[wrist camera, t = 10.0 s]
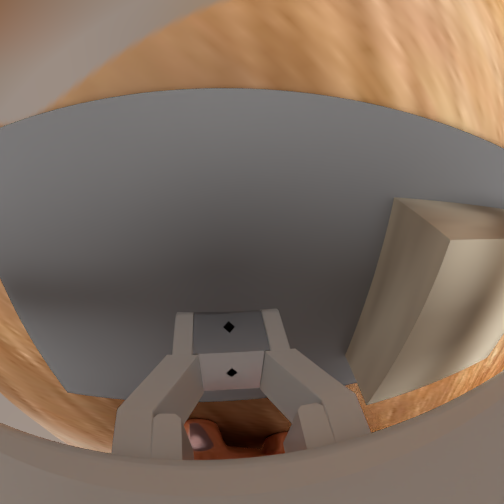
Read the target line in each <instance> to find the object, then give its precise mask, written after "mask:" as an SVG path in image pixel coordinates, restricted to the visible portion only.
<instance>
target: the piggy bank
mask: <svg viewBox="0 0 504 504" xmlns="http://www.w3.org/2000/svg"><path fill="white" fill-rule="evenodd" d="M184 427H185V430H186V433H187V435H188V438H189V440H190V443H191V445H192V448H193V452H194V460H221V459H238V458H250V457H260V456H268V455H276V454H283V453H285V450H284V445H283V442H284V440H285V438H286V436H287V434H288V432H281V433H277V434H274V435H271V436H269V437H268V438H266V439H265V441H264V445H263V448H262V449H252V448H244V447H234V446H226V444H225V443H224V440H223V438H222V436H221V433H220V431H219V428H218V426H217V424H216V423H214V422H212V421H209V420H205V419H188V420H186V422H185V424H184Z"/></svg>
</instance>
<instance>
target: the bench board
mask: <svg viewBox="0 0 504 504" xmlns="http://www.w3.org/2000/svg"><path fill="white" fill-rule="evenodd" d="M394 197H397V198H410V199H422V200H433V201H443V202H453V203H461V204H470V205H478V206H485V207H493V208H500V209H504V149H503V148H501V147H499V146H497V145H495V144H493V143H491V142H488V141H486V140H484V139H481V138H479V137H477V136H474V135H472V134H469V133H467V132H464V131H462V130H459V129H456V128H454V127H451V126H448V125H445V124H442V123H439V122H436V121H433V120H430V119H427V118H424V117H420V116H417V115H414V114H410V113H407V112H403V111H399V110H395V109H391V108H387V107H383V106H379V105H374V104H370V103H365V102H360V101H355V100H349V99H344V98H338V97H332V96H325V95H318V94H310V93H301V92H292V91H280V90H266V89H243V88H205V89H182V90H168V91H157V92H147V93H139V94H131V95H124V96H118V97H112V98H106V99H100V100H95V101H90V102H85V103H81V104H76V105H72V106H68V107H64V108H60V109H56V110H52V111H49V112H45V113H42V114H39V115H35V116H32V117H29V118H26V119H23V120H20V121H17V122H14V123H11V124H9V125H6V126H3V127H1V128H0V278H1V281H2V283H3V285H4V287H5V290H6V292H7V294H8V296H9V298H10V300H11V302H12V304H13V306H14V308H15V310H16V312H17V314H18V316H19V318H20V320H21V322H22V324H23V325H24V327H25V329H26V331H27V332H28V334H29V336H30V338H31V339H32V341H33V343H34V344H35V346H36V348H37V349H38V351H39V352H40V354H41V355H42V357H43V359H44V360H45V362H46V363H47V365H48V366H49V367H50V369H51V370H52V372H53V373H54V375H55V376H56V377H57V379H58V380H59V382H60V383H61V384H62V386H63V387H64V388H65V390H66V391H67V392H69V393H75V394H81V395H88V396H96V397H104V398H113V399H124V400H126V399H127V398H128V397H129V396H130V395H131V394H132V393H133V391H134V390H135V389H136V388H137V387H138V386H139V385H140V384H141V383H142V382H143V381H144V379H145V378H146V377H147V376H148V375H149V374H150V373H151V372H152V371H153V370H154V369H155V367H156V366H157V365H158V364H159V363H160V362H161V361H162V360H163V359H164V358H165V357H166V355H172V350H173V339H174V328H175V318H176V314H177V312H193V313H194V312H232V311H250V310H263V309H278V310H279V313H280V316H281V320H282V323H283V326H284V329H285V333H286V336H287V339H288V343H289V346H290V349H297V350H298V351H299V352H301V353H302V354H303V355H304V356H306V357H307V358H308V359H310V360H311V361H312V362H313V363H315V364H316V365H317V366H319V367H320V368H321V369H323V370H324V371H325V372H327V373H328V374H329V375H331V376H332V377H333V378H335V379H336V380H337V381H339V382H340V383H341V384H343V385H349V384H353V383H357V381H356V379H355V377H354V375H353V372H352V370H351V368H350V365H349V363H348V361H347V359H346V356H345V354H346V352H347V350H348V347H349V345H350V342H351V340H352V337H353V334H354V332H355V329H356V326H357V324H358V321H359V318H360V316H361V313H362V310H363V307H364V304H365V301H366V298H367V295H368V292H369V289H370V286H371V283H372V280H373V277H374V274H375V270H376V267H377V264H378V260H379V257H380V253H381V250H382V246H383V242H384V238H385V235H386V231H387V227H388V223H389V218H390V214H391V210H392V205H393V201H394ZM259 398H268V397H267V396H266V395H265V394H264V393H263V392H262V391H261V390H260V388H250V389H229V390H215V391H204V393H203V395H202V397H201V398H200V400H199V401H198V402H214V401H234V400H247V399H259Z"/></svg>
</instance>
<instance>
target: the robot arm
mask: <svg viewBox="0 0 504 504" xmlns="http://www.w3.org/2000/svg"><path fill="white" fill-rule="evenodd" d="M250 388H260V390H261V391H262V392H263V393H264V394H265V395H266V396H267V397H268V399H269V400H270V401H271V402H272V403H273V404H274V405H275V406H276V407H277V408H278V409H279V410H280V411H281V413H282V414H283V415H284V416H285V417H286V418H287V419H288V420H289V421H290V422H291V423H292V425H291V427H290V429H289V431H288V434H287V436H286V438H285V440H284V442H283V445H284V450H285V453H283V454H276V455H268V456H260V457H250V458H238V459H221V460H194V452H193V448H192V445H191V443H190V440H189V438H188V435H187V433H186V430H185V427H184V424H185V422H186V420H187V419H188V417H189V416H190V414H191V413H192V411H193V409H194V408H195V406H196V405H197V403H198V401H199V400H200V398H201V397H202V395H203V393H204V391H215V390H229V389H250ZM0 504H504V370H503V371H502V372H500V373H499V374H497V375H495V376H494V377H492V378H491V379H489V380H487V381H486V382H484V383H482V384H481V385H479V386H477V387H476V388H474V389H472V390H470V391H468V392H467V393H465V394H463V395H461V396H459V397H457V398H455V399H453V400H451V401H449V402H447V403H445V404H443V405H441V406H439V407H437V408H435V409H432V410H430V411H428V412H426V413H423V414H421V415H419V416H416V417H414V418H411V419H409V420H406V421H404V422H401V423H399V424H396V425H393V426H390V427H388V428H385V429H382V430H379V431H376V432H373V433H371V432H370V429H369V426H368V424H367V421H366V419H365V416H364V414H363V411H362V409H361V406H360V404H359V402H358V399H357V397H356V394H355V393H354V392H352V391H351V390H349V389H348V388H347V387H345V386H344V385H343V384H341V383H340V382H339V381H337V380H336V379H335V378H333V377H332V376H331V375H329V374H328V373H327V372H325V371H324V370H323V369H321V368H320V367H319V366H317V365H316V364H315V363H313V362H312V361H311V360H310V359H308V358H307V357H306V356H304V355H303V354H302V353H301V352H299V351H298V350H297V349H290V346H289V343H288V339H287V336H286V333H285V329H284V326H283V323H282V320H281V316H280V313H279V310H278V309H263V310H250V311H232V312H194V313H193V312H177V314H176V318H175V328H174V339H173V350H172V355H166V357H165V358H164V359H163V360H162V361H161V362H160V363H159V364H158V365H157V366H156V367H155V369H154V370H153V371H152V372H151V373H150V374H149V375H148V376H147V377H146V378H145V379H144V381H143V382H142V383H141V384H140V385H139V386H138V387H137V388H136V389H135V390H134V391H133V393H132V394H131V395H130V396H129V397H128V398H127V399H126V400H125V401H124V402H123V403H122V404H121V406H120V407H119V408H118V409H117V415H116V422H115V429H114V437H113V445H112V454H111V453H105V452H99V451H94V450H89V449H84V448H79V447H75V446H71V445H66V444H62V443H59V442H55V441H51V440H48V439H44V438H41V437H38V436H35V435H32V434H29V433H26V432H23V431H20V430H18V429H15V428H12V427H10V426H7V425H5V424H2V423H0Z"/></svg>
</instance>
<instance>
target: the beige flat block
mask: <svg viewBox="0 0 504 504" xmlns="http://www.w3.org/2000/svg"><path fill="white" fill-rule="evenodd" d="M503 334H504V209H500V208H493V207H485V206H478V205H470V204H461V203H453V202H443V201H433V200H422V199H410V198H397V197H394V201H393V205H392V210H391V214H390V218H389V223H388V227H387V231H386V235H385V238H384V242H383V246H382V250H381V253H380V257H379V260H378V264H377V267H376V270H375V274H374V277H373V280H372V283H371V286H370V289H369V292H368V295H367V298H366V301H365V304H364V307H363V310H362V313H361V316H360V318H359V321H358V324H357V326H356V329H355V332H354V334H353V337H352V340H351V342H350V345H349V347H348V350H347V352H346V354H345V356H346V359H347V361H348V363H349V365H350V368H351V370H352V372H353V375H354V377H355V379H356V381H357V384H358V386H359V388H360V391H361V393H362V395H363V398H364V400H365V403H366V405H369V404H372V403H376V402H379V401H383V400H386V399H389V398H392V397H395V396H398V395H401V394H404V393H407V392H410V391H413V390H415V389H418V388H421V387H423V386H426V385H429V384H431V383H434V382H436V381H438V380H441V379H443V378H446V377H448V376H450V375H452V374H455V373H457V372H459V371H461V370H463V369H465V368H467V367H470V366H472V365H474V364H476V363H478V362H480V361H482V360H483V359H485V358H487V357H488V355H489V354H490V353H491V351H492V350H493V348H494V347H495V346H496V344H497V343H498V341H499V340H500V338H501V337H502V335H503Z"/></svg>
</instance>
